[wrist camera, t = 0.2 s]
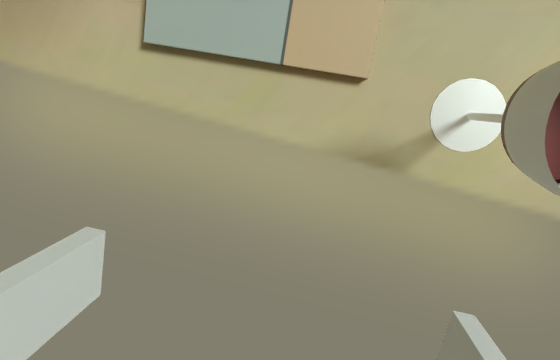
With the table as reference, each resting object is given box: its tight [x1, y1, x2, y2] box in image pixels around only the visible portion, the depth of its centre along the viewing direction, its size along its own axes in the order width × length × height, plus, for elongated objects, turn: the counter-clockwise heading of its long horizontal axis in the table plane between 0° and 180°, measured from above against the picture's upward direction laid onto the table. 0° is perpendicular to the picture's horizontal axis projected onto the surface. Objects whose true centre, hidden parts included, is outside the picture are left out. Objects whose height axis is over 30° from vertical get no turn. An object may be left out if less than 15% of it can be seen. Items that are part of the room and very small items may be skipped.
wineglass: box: [430, 61, 560, 196], centre depth 27 cm, size 8×9×20 cm
